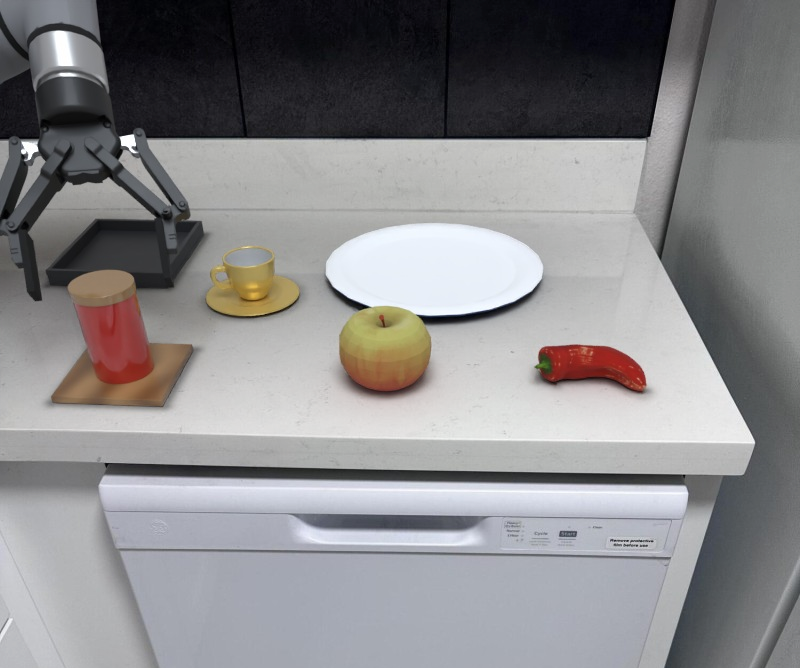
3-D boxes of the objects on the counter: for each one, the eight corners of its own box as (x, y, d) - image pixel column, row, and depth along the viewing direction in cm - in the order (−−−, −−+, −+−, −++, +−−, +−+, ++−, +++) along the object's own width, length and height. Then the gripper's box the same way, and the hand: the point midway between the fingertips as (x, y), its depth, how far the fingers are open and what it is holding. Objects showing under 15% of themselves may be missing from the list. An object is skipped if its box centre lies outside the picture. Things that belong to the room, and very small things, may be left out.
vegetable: (539, 367, 81) (652, 380, 82) (538, 327, 84) (648, 340, 84) (528, 393, 85) (636, 406, 86) (528, 354, 88) (633, 367, 88)
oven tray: (49, 285, 105) (44, 270, 104) (99, 232, 119) (95, 218, 117) (168, 288, 104) (164, 273, 103) (204, 234, 118) (201, 220, 116)
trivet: (52, 402, 84) (50, 396, 83) (94, 347, 93) (92, 340, 92) (162, 406, 83) (160, 400, 83) (193, 350, 92) (192, 344, 91)
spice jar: (85, 383, 85) (57, 296, 78) (106, 353, 90) (81, 268, 83) (144, 385, 85) (121, 298, 78) (162, 355, 90) (142, 270, 83)
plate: (342, 337, 94) (341, 324, 93) (313, 242, 115) (312, 230, 114) (574, 313, 98) (576, 300, 97) (505, 225, 119) (506, 214, 118)
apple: (349, 409, 82) (345, 340, 77) (333, 363, 89) (328, 296, 84) (440, 396, 84) (442, 327, 79) (417, 352, 91) (417, 286, 86)
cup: (287, 271, 108) (282, 232, 104) (310, 309, 99) (306, 267, 96) (199, 285, 105) (191, 245, 101) (215, 325, 96) (207, 283, 93)
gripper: (195, 107, 89) (224, 290, 88) (-39, 122, 85) (-11, 314, 84) (188, 64, 82) (220, 263, 81) (-69, 79, 78) (-38, 289, 77)
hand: (102, 290), depth 83 cm, fingers open, 13 cm apart
